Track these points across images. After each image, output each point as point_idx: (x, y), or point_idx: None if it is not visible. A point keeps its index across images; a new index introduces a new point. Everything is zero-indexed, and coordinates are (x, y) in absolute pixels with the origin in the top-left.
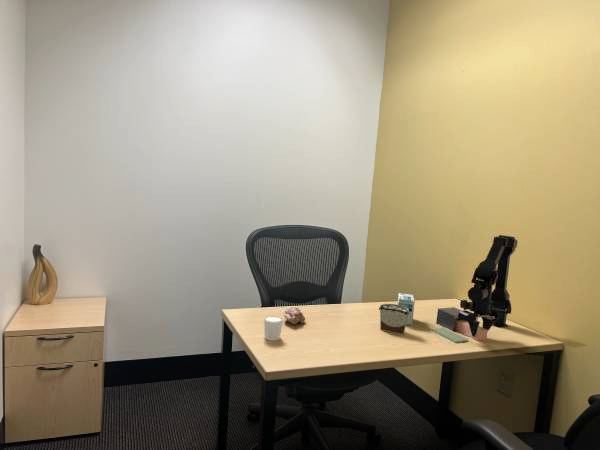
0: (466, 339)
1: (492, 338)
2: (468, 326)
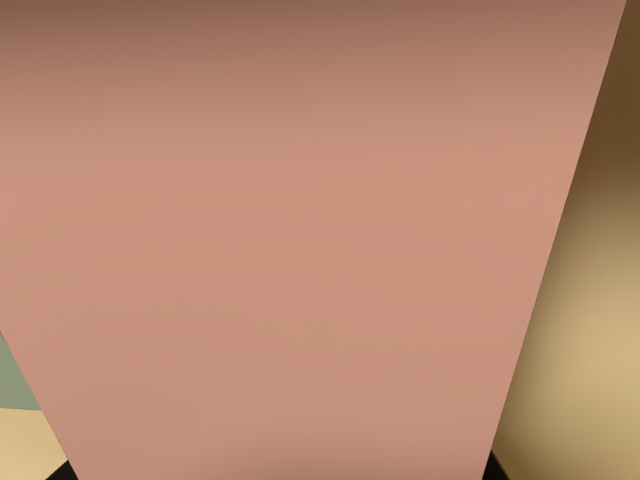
0: (20, 397)
1: (601, 419)
2: (49, 400)
